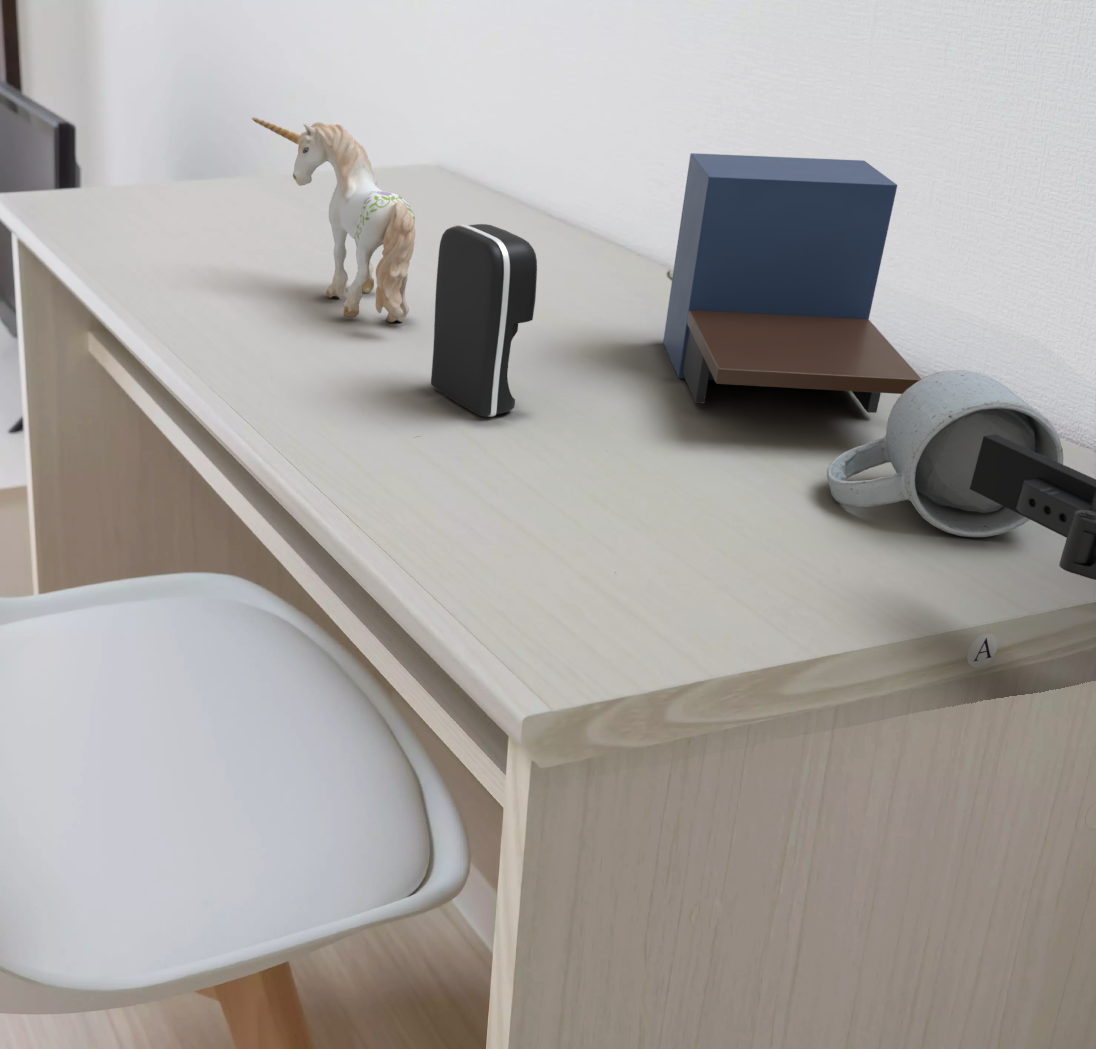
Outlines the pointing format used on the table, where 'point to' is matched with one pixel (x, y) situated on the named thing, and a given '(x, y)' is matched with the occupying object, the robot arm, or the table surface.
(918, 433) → the ceramic mug
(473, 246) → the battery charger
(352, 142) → the unicorn figurine
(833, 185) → the blue chair shape
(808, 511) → the table surface
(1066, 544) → the robot arm
